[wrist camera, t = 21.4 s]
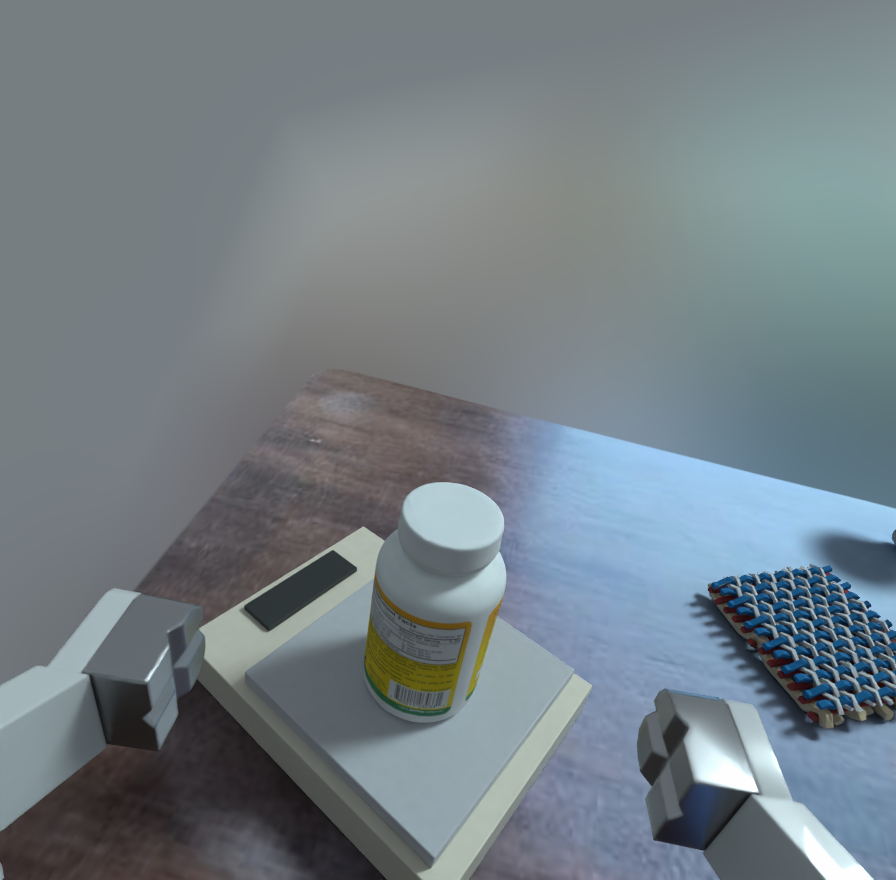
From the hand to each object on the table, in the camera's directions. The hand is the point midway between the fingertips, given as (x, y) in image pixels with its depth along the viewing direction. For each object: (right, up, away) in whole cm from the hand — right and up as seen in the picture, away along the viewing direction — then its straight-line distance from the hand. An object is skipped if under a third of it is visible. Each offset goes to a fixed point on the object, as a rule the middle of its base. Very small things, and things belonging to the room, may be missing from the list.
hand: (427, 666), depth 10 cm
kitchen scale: (-3, -9, +20) cm, 22 cm away
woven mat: (+23, -9, +27) cm, 37 cm away
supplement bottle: (-1, -7, +17) cm, 19 cm away
